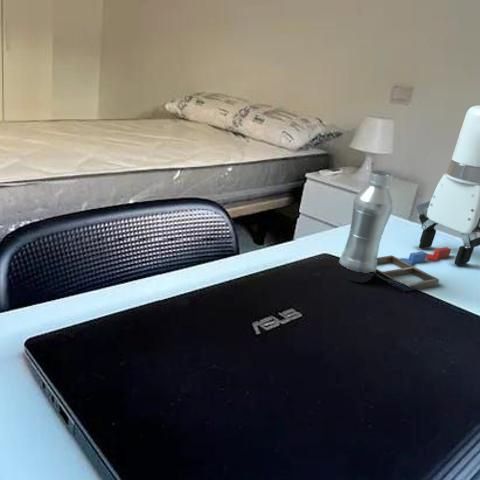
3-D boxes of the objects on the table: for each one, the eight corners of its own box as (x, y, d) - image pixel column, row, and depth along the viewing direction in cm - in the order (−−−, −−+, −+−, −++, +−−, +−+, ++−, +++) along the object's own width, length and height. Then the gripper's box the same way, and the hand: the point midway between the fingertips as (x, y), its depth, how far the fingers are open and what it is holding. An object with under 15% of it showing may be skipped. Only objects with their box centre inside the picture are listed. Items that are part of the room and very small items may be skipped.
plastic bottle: (378, 280, 91) (408, 174, 83) (363, 291, 87) (394, 181, 79) (344, 267, 95) (370, 165, 87) (328, 278, 91) (354, 171, 83)
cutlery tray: (389, 263, 99) (391, 255, 98) (436, 288, 90) (439, 279, 90) (357, 269, 95) (359, 260, 95) (403, 295, 87) (405, 286, 86)
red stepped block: (440, 256, 105) (443, 245, 104) (450, 260, 103) (454, 250, 102) (420, 259, 102) (424, 248, 101) (431, 264, 100) (434, 253, 99)
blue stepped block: (416, 260, 102) (419, 249, 101) (426, 265, 100) (430, 254, 99) (395, 264, 99) (399, 253, 98) (405, 269, 97) (409, 258, 96)
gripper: (528, 185, 90) (494, 271, 97) (442, 160, 105) (418, 237, 111) (503, 187, 87) (469, 277, 94) (418, 161, 101) (394, 240, 108)
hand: (442, 254), depth 103 cm, fingers open, 7 cm apart
